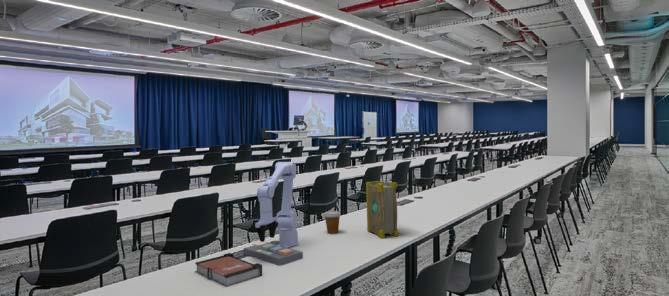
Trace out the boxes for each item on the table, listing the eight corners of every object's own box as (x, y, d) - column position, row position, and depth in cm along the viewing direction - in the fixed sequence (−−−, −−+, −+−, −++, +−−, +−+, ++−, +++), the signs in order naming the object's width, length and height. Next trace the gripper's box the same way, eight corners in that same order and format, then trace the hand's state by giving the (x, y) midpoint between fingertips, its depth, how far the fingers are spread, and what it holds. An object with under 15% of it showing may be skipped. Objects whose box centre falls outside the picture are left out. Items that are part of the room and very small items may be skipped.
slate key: (277, 250, 201) (277, 246, 201) (283, 252, 198) (283, 247, 198) (269, 252, 198) (269, 248, 198) (275, 254, 194) (275, 250, 194)
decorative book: (366, 231, 244) (364, 180, 243) (382, 229, 248) (381, 179, 247) (382, 239, 225) (380, 184, 224) (399, 236, 229) (398, 182, 228)
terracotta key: (286, 252, 197) (285, 248, 197) (292, 254, 193) (292, 250, 193) (278, 255, 193) (277, 250, 193) (284, 257, 190) (284, 252, 190)
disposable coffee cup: (327, 235, 237) (326, 214, 237) (323, 231, 246) (322, 211, 246) (342, 233, 240) (342, 213, 239) (338, 230, 249) (337, 210, 249)
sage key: (269, 248, 206) (269, 243, 206) (275, 249, 202) (275, 245, 202) (261, 250, 202) (261, 245, 202) (267, 251, 199) (267, 247, 199)
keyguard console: (266, 247, 215) (266, 241, 215) (302, 258, 196) (302, 251, 195) (243, 254, 205) (243, 247, 205) (279, 265, 185) (279, 258, 185)
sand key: (261, 245, 210) (261, 241, 210) (267, 247, 207) (267, 243, 207) (253, 247, 207) (253, 243, 207) (259, 249, 203) (259, 245, 203)
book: (194, 273, 180) (193, 261, 180) (229, 263, 192) (229, 252, 192) (224, 288, 161) (224, 275, 161) (262, 276, 173) (262, 264, 173)
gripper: (268, 207, 205) (269, 235, 206) (249, 213, 193) (250, 242, 193) (280, 208, 202) (281, 236, 203) (261, 214, 189) (262, 243, 190)
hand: (267, 239), depth 198 cm, fingers open, 7 cm apart
